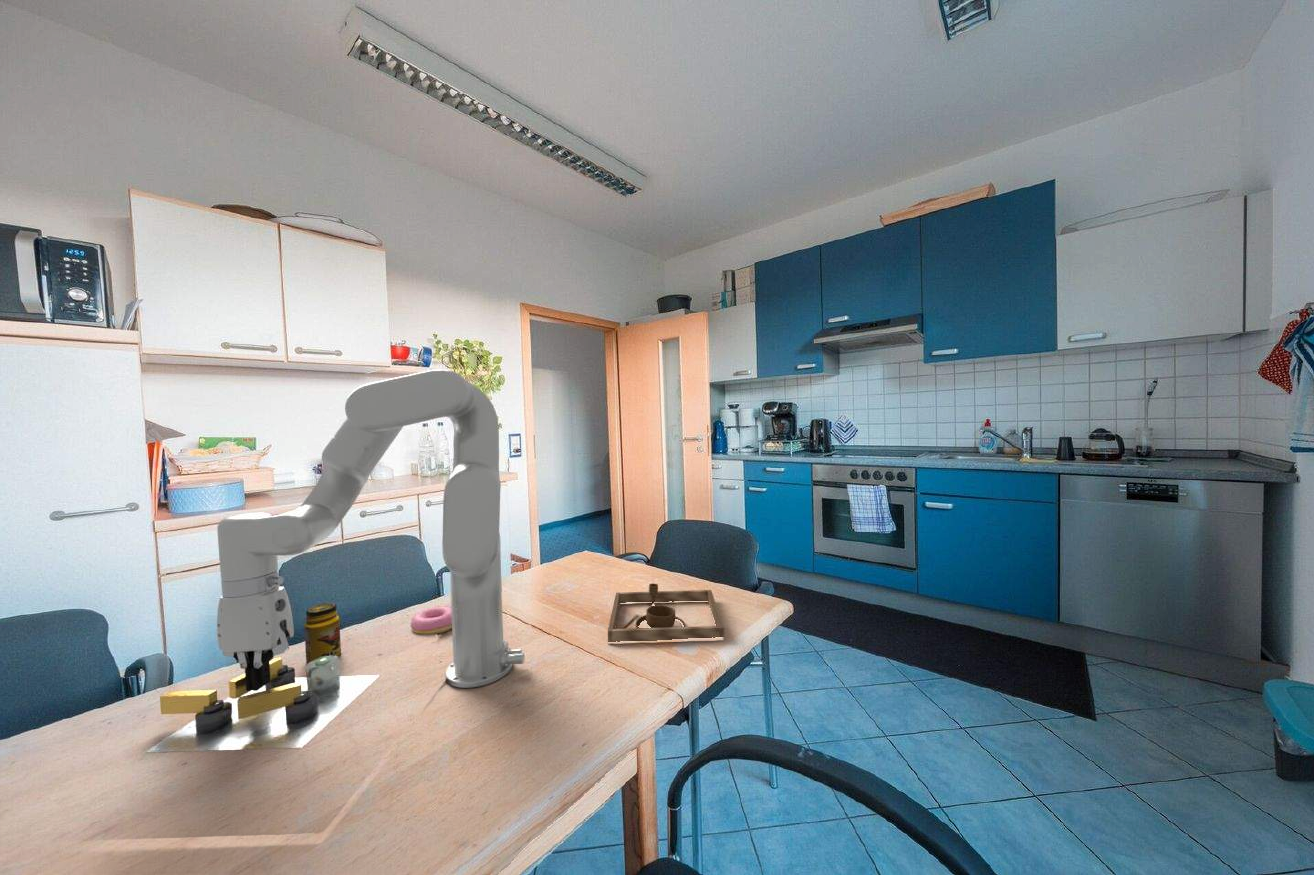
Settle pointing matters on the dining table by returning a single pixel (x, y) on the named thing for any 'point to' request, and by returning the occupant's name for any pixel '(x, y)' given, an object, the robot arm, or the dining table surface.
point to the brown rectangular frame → (666, 632)
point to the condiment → (322, 632)
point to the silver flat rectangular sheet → (276, 716)
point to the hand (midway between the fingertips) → (258, 686)
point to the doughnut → (432, 620)
